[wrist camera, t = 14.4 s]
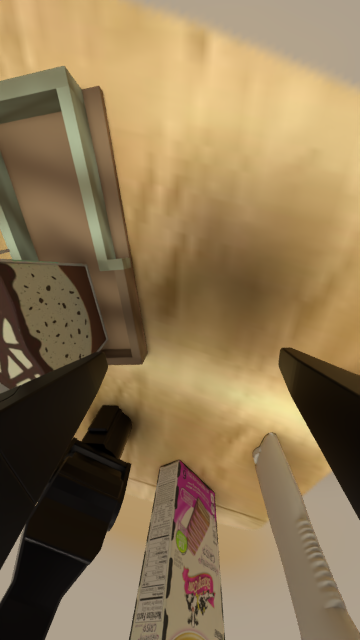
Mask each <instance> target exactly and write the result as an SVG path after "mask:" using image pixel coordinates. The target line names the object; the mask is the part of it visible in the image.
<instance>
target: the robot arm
mask: <svg viewBox="0 0 360 640" xmlns="http://www.w3.org/2000/svg"><path fill="white" fill-rule="evenodd" d="M279 368H280V371H281V373H282V375H283V378H284V380H285V383H286V385H287V388H288V390H289V392H290V394H291V397H292V398H293V400H294V402H295V404H296V406H297V408H298V409H299V411H300V413H301V415H302V417H303V419H304V420H305V422H306V424H307V426H308V428H309V429H310V431H311V433H312V435H313V437H314V438H315V440H316V442H317V444H318V446H319V447H320V449H321V451H322V453H323V455H324V456H325V458H326V460H327V462H328V464H329V466H330V467H331V469H332V471H333V473H334V475H335V476H336V478H337V480H338V482H339V484H340V485H341V487H342V489H343V491H344V492H345V494H346V496H347V498H348V500H349V502H350V504H351V505H352V507H353V509H354V511H355V513H356V514H357V516H358V518H359V520H360V376H359V375H356V374H354V373H351V372H349V371H346V370H344V369H342V368H339V367H337V366H334V365H332V364H329V363H327V362H325V361H322V360H320V359H317V358H315V357H312V356H310V355H308V354H305V353H303V352H300V351H298V350H295V349H293V348H281V350H280V355H279ZM107 369H108V363H107V359H106V356H105V353H104V352H95V353H92V354H90V355H88V356H86V357H83V358H81V359H79V360H76V361H74V362H72V363H69V364H67V365H65V366H63V367H60V368H58V369H56V370H53V371H51V372H49V373H47V374H44V375H42V376H40V377H37V378H35V379H33V380H31V381H28V382H26V383H24V384H22V385H19V386H17V387H14V388H12V389H10V390H7V391H5V392H3V393H0V569H1V567H2V566H3V564H4V562H5V560H6V559H7V557H8V555H9V553H10V551H11V549H12V548H13V546H14V544H15V542H16V540H17V539H18V537H19V535H20V533H21V531H22V529H23V528H24V529H23V532H22V535H21V540H20V544H19V549H18V554H17V558H16V563H15V567H14V572H13V576H12V580H11V584H10V586H9V588H8V589H7V591H6V593H5V595H4V596H3V598H2V600H1V602H0V640H45V638H46V635H47V633H48V630H49V628H50V625H51V623H52V620H53V618H54V615H55V613H56V611H57V608H58V605H59V603H60V601H61V599H62V597H63V596H64V595H65V593H66V592H67V591H68V589H69V588H70V587H71V586H72V584H73V583H74V582H75V581H76V580H77V578H78V577H79V576H80V575H81V573H82V572H83V571H84V570H85V568H86V567H87V566H88V565H89V564H90V563H91V562H92V561H93V559H94V558H95V557H96V555H97V554H98V553H99V551H100V550H101V547H102V544H103V541H104V538H105V535H106V533H107V531H110V529H111V528H112V526H113V525H114V523H115V520H116V518H117V516H118V513H119V511H120V508H121V505H122V502H123V499H124V495H125V491H126V486H127V481H128V477H129V472H130V468H131V464H130V463H126V462H124V461H122V460H120V458H121V455H122V453H123V450H124V447H125V445H126V442H127V439H128V437H129V434H130V431H131V429H132V422H131V420H130V418H129V417H128V416H127V415H126V414H124V413H123V412H122V410H121V409H120V408H119V406H102V407H101V409H100V410H99V412H98V414H97V415H96V417H95V418H94V420H93V422H92V423H91V425H90V426H89V428H88V431H87V433H86V435H85V436H84V438H83V439H82V441H79V440H77V438H75V437H74V435H75V433H76V431H77V429H78V428H79V426H80V424H81V422H82V420H83V418H84V417H85V415H86V413H87V411H88V409H89V408H90V406H91V404H92V402H93V400H94V399H95V397H96V395H97V393H98V390H99V388H100V386H101V383H102V381H103V379H104V376H105V374H106V372H107ZM73 437H74V438H73ZM72 438H73V439H72ZM37 502H38V503H37ZM36 504H37V505H36ZM35 505H36V506H35Z"/></svg>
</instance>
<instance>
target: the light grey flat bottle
mask: <svg viewBox="0 0 360 640" xmlns="http://www.w3.org/2000/svg"><path fill="white" fill-rule="evenodd" d="M253 458H254V461H255V463H256V472H257V476H258V480H259V483H260V487H261V491H262V495H263V499H264V502H265V506H266V510H267V514H268V517H269V521H270V525H271V528H272V532H273V534H274V538H275V541H276V544H277V547H278V550H279V554H280V557H281V561H282V565H283V568H284V572H285V575H286V579H287V583H288V587H289V591H290V595H291V599H292V603H293V606H294V610H295V614H296V618H297V622H298V626H299V630H300V634H301V639H302V640H360V633H359V631H358V629H357V628H356V626H355V624H354V623H353V621H352V619H351V617H350V616H349V614H348V612H347V609H346V606H345V603H344V601H343V599H342V596H341V594H340V592H339V591H338V587H337V584H336V583H335V581H334V578H333V575H332V573H331V572H330V569H329V566H328V564H327V562H326V559H325V556H324V555H323V552H322V550H321V548H320V545H319V543H318V540H317V537H316V535H315V532H314V530H313V527H312V525H311V522H310V520H309V516H308V514H307V510H306V507H305V504H304V501H303V498H302V495H301V493H300V491H299V488H298V486H297V483H296V481H295V478H294V476H293V474H292V471H291V469H290V466H289V464H288V462H287V459H286V457H285V454H284V452H283V450H282V447H281V445H280V442H279V440H278V438H277V436H276V434H274V433H268V434H267V435H266V436H265V437H264V439H263V441H262V443H261V445H260V447H258V448H256V449H255V450H254V452H253Z"/></svg>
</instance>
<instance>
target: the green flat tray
mask: <svg viewBox="0 0 360 640" xmlns="http://www.w3.org/2000/svg"><path fill="white" fill-rule="evenodd" d="M0 230H1V232H2V235H3V237H4V240H5V242H6V245H7V247H8V249H9V250H10V255H11V257H12V260H28V261H45V262H61V263H77V264H87V266H88V269H89V273H90V276H91V280H92V283H93V287H94V290H95V294H96V297H97V301H98V304H99V308H100V311H101V315H102V318H103V322H104V325H105V329H106V332H107V336H108V339H109V340H108V341H107V343H106V344H105V345H104V346H103V348H102V349H101V350H100V351H99V352H104V353H105V356H106V359H107V363H108V365H139V364H143V362H144V360H145V358H146V356H147V354H148V352H147V347H146V341H145V335H144V329H143V323H142V318H141V312H140V306H139V300H138V295H137V289H136V283H135V277H134V272H133V266H132V260H131V254H130V248H129V243H128V237H127V231H126V225H125V220H124V214H123V208H122V202H121V197H120V191H119V185H118V179H117V173H116V168H115V162H114V156H113V150H112V145H111V139H110V133H109V127H108V122H107V116H106V110H105V104H104V98H103V93H102V90H101V88H100V87H99V86H96V87H91V88H87V89H81V88H80V87H79V85H78V84H77V82H76V81H75V80H74V78H73V77H72V76H71V74H70V73H69V71H68V70H67V69H66V67H65V66H61V67H57V68H53V69H48V70H44V71H40V72H36V73H32V74H28V75H23V76H19V77H15V78H11V79H7V80H3V81H0Z"/></svg>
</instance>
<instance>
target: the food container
mask: <svg viewBox="0 0 360 640" xmlns="http://www.w3.org/2000/svg"><path fill="white" fill-rule="evenodd" d="M6 252H10V250H9V249H6V250H1V251H0V254H2V253H6ZM108 340H109V339H108V336H107V332H106V329H105V325H104V322H103V318H102V315H101V311H100V308H99V304H98V301H97V297H96V294H95V290H94V287H93V283H92V280H91V276H90V273H89V269H88V266H87V264H77V263H61V262H45V261H28V260H12V259H0V393H3V392H5V391H7V390H10V389H12V388H14V387H17V386H19V385H22V384H24V383H26V382H28V381H31V380H33V379H35V378H37V377H40V376H42V375H44V374H47V373H49V372H51V371H53V370H56V369H58V368H60V367H63V366H65V365H67V364H69V363H72V362H74V361H76V360H79V359H81V358H83V357H86V356H88V355H90V354H92V353H95V352H99V351H100V350H101V349H102V348H103V346H104V345H105V344H106V343H107V341H108Z"/></svg>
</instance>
